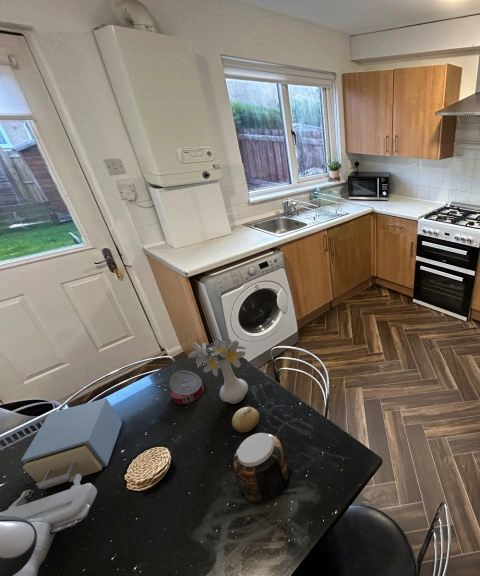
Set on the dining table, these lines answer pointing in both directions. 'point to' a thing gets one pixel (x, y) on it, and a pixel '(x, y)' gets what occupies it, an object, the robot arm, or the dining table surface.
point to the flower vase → (223, 367)
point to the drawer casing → (78, 431)
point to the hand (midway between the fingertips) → (53, 483)
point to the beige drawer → (62, 466)
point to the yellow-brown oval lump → (245, 419)
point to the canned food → (185, 386)
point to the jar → (261, 467)
